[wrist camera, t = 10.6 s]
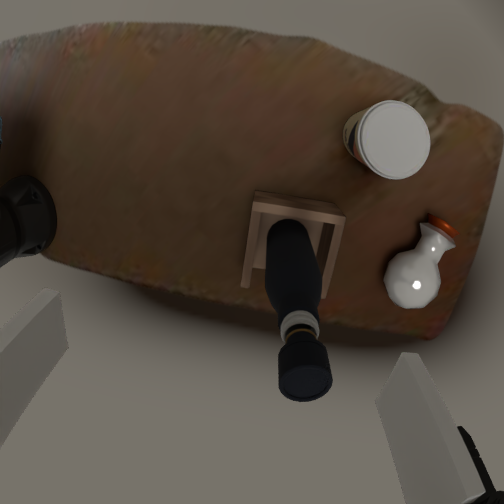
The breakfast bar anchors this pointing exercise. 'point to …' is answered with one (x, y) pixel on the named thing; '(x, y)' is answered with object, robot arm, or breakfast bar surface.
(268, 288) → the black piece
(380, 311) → the breakfast bar surface
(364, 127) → the coffee cup
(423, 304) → the potion bottle
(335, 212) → the u rest
